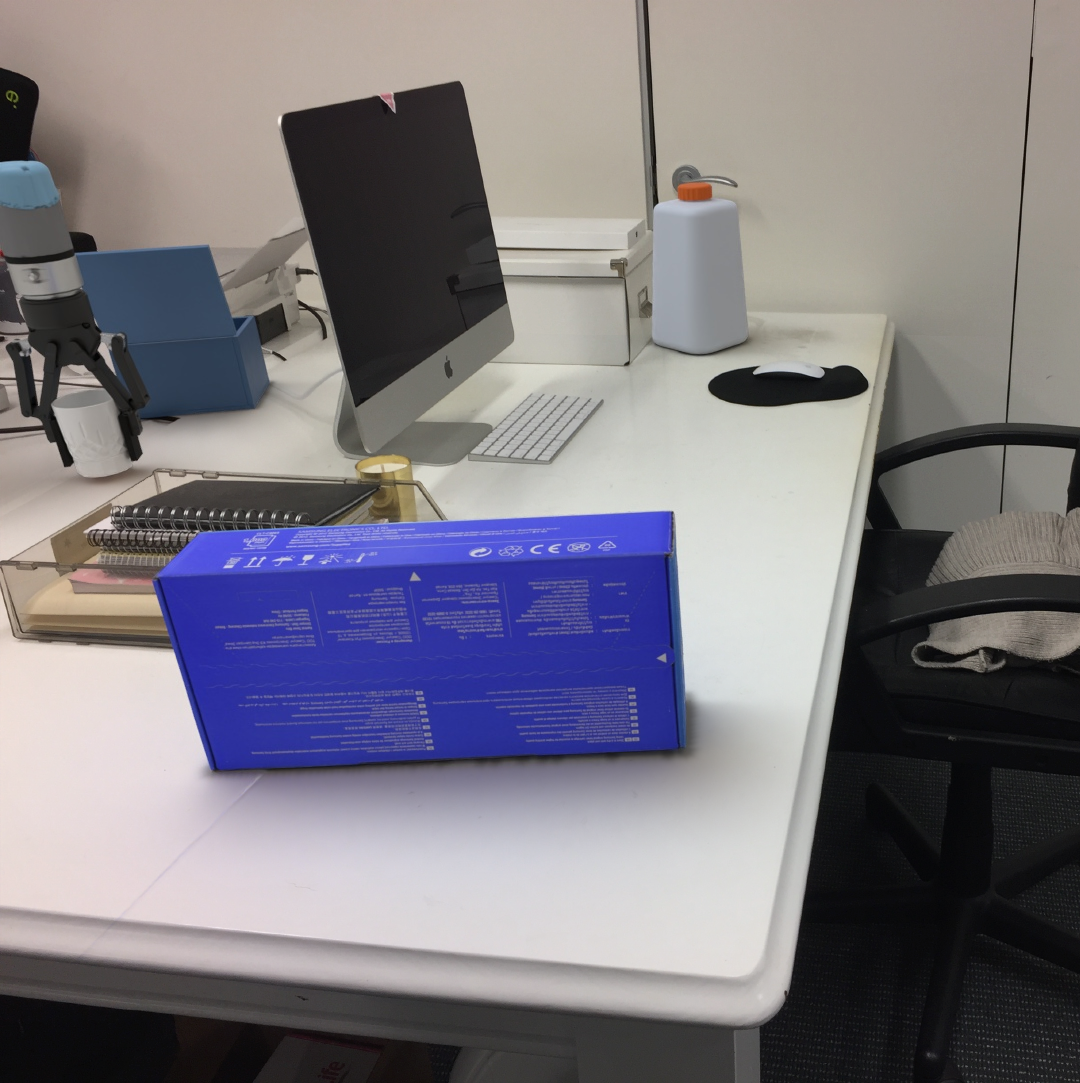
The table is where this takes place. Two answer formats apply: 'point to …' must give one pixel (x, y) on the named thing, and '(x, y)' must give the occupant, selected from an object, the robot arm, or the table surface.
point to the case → (201, 372)
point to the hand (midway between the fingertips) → (104, 460)
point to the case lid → (156, 293)
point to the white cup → (93, 432)
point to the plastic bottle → (697, 273)
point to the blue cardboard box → (430, 639)
